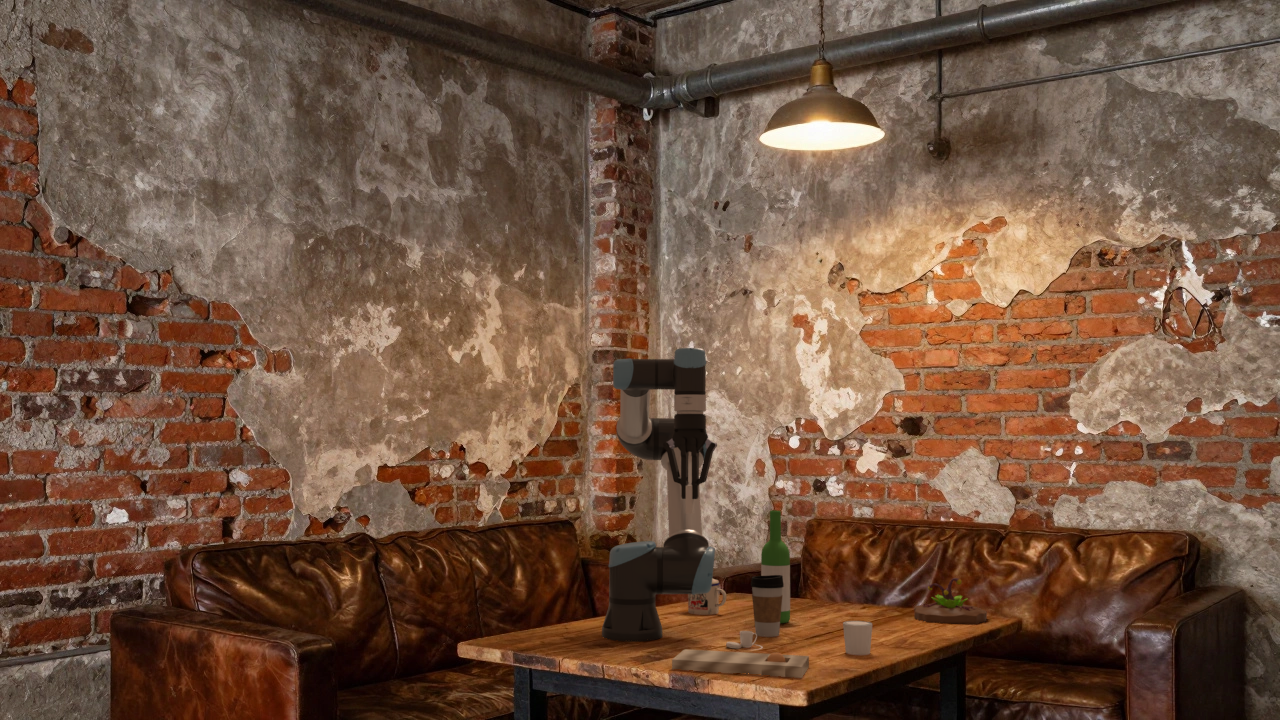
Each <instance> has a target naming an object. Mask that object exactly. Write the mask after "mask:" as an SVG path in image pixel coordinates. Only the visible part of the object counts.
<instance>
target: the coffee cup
mask: <svg viewBox="0 0 1280 720" xmlns="http://www.w3.org/2000/svg"><path fill="white" fill-rule="evenodd" d="M783 585H784V583H783V576H782V575H769V576H761V575H755V576H754V575H753V576H752V577H751V581H750V587H751V588H752V589H751V591H752V594H751V597H752V606H753V607H752V608H753V618H754V627H755V628H754V630H755V632H754V633H756V634H757V637H758V636H759V637H765V638H772V637H773V638H774V637H779V636H780V628H781V627H780V626H781V623H780V618H781V606H782V587H784V586H783ZM756 634H755V635H756Z"/></svg>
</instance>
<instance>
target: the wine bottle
mask: <svg viewBox="0 0 1280 720" xmlns="http://www.w3.org/2000/svg"><path fill="white" fill-rule="evenodd" d="M781 514H782V511H781V510H775V509H774V510H770V511H769V540H768V541H767V542H766V543H765V544H764V546H763V547H762V550H761V559H760V560H761V566H760V567H761V568H760V576H769V575H782V576H783V583H784V585H783V586H784V587H782V606H781V618H780V624H786V623H789V622H790V619H791V563H790V562H791V561H790V560H791V557H790V556H791V555H790V550H789V547H788V545H787V543H785V542H784V541H783V540H782V527H781V526H782V515H781Z"/></svg>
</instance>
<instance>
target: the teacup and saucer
mask: <svg viewBox="0 0 1280 720" xmlns="http://www.w3.org/2000/svg"><path fill="white" fill-rule="evenodd" d="M754 635H755V638H754ZM753 639H754V641H753ZM757 639H758V636H757V634H756V632H753V631H751V630H740V631H739V641H740V643H739V642H735V641H727V642H725V643H726V647H727V648H729V649H732V650H733V649H735V650H739V649H741V648H745V649H746V648H751V647H752V646H756V641H757ZM757 646H758V647H760V648H756V649H753V651H755V650H761V649H763V648H764V647H763V645H760V644H757Z"/></svg>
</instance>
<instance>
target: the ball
mask: <svg viewBox="0 0 1280 720" xmlns="http://www.w3.org/2000/svg"><path fill="white" fill-rule="evenodd" d="M769 654H770V655H769V657H768V659H767V661H768V662H786V661H785V658H784V656H783V655H784V654H782V653H780V652H772V653H769Z"/></svg>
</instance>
